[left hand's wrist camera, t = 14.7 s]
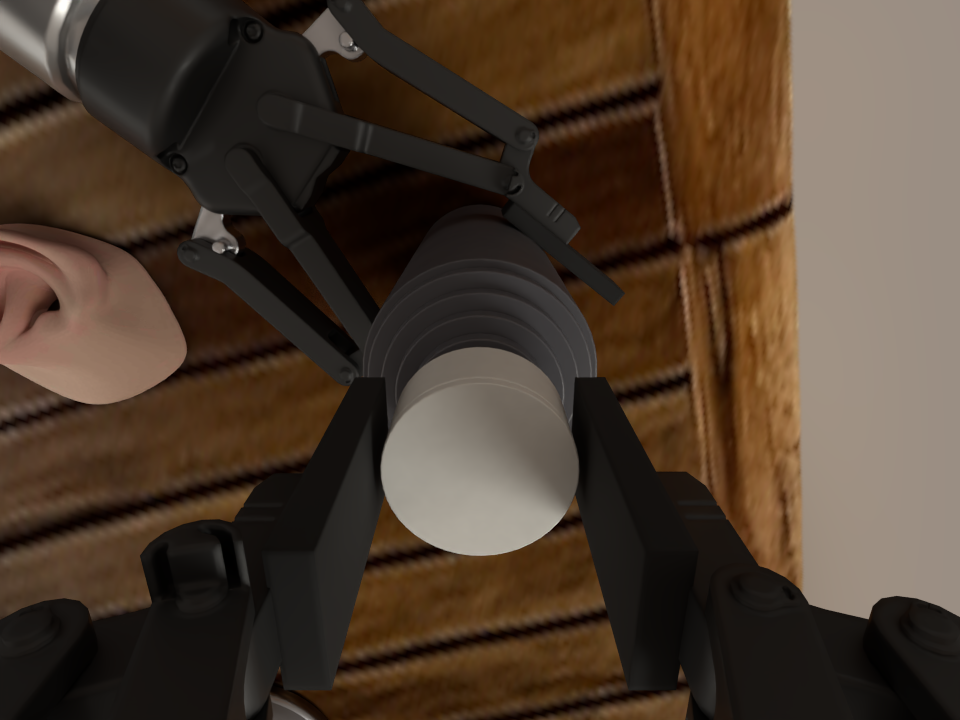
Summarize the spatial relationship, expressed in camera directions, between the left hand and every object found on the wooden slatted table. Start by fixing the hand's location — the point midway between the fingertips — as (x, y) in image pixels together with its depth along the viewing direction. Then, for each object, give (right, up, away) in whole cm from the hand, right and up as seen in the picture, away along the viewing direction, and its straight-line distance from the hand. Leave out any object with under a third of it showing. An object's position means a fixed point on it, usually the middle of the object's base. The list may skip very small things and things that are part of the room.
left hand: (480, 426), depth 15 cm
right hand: (+4, +2, +14) cm, 14 cm away
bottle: (0, +7, +19) cm, 20 cm away
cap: (0, -1, -2) cm, 2 cm away
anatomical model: (-25, +5, +20) cm, 32 cm away
